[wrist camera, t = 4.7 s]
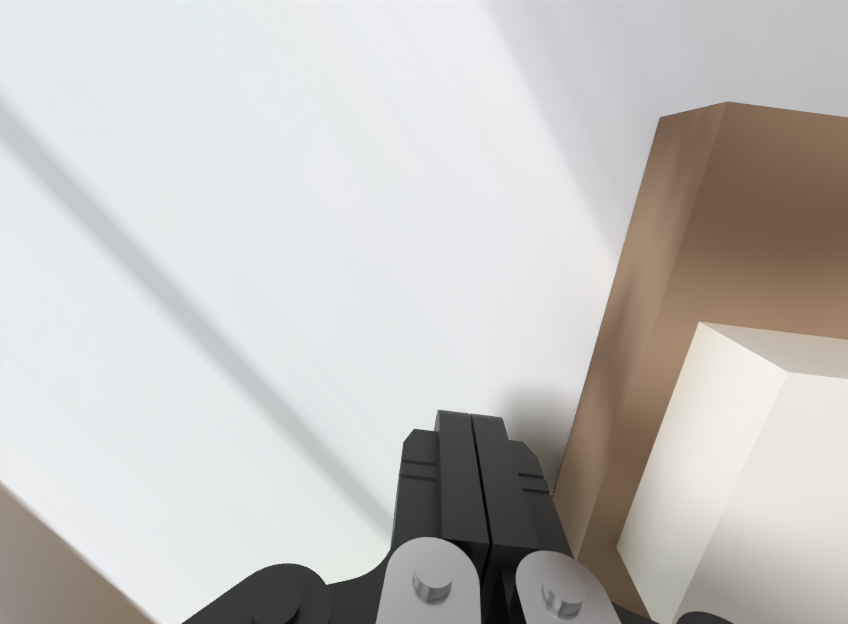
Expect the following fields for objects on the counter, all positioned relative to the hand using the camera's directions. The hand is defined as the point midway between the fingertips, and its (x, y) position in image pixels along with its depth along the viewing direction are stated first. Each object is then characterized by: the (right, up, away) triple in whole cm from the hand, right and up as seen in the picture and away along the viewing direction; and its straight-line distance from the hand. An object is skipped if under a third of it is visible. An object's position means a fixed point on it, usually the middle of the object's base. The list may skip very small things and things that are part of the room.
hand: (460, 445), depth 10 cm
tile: (+9, -1, +1) cm, 9 cm away
